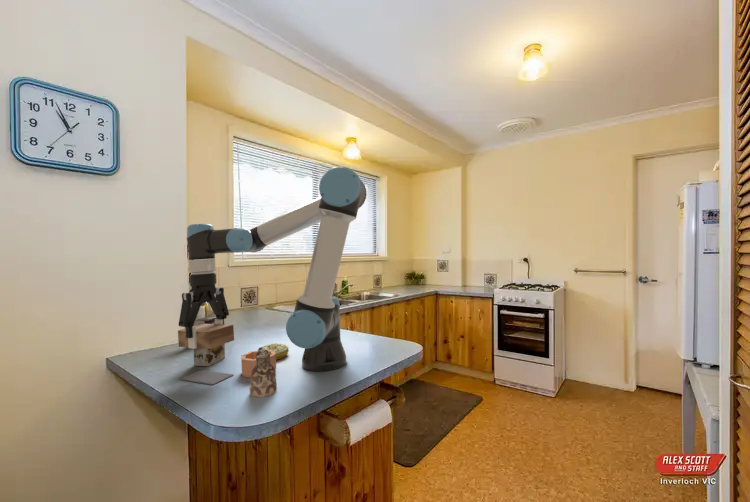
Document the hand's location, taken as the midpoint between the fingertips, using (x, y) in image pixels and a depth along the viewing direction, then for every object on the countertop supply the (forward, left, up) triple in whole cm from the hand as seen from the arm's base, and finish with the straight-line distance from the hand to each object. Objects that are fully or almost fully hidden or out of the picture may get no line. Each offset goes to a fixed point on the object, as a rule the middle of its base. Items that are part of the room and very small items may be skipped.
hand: (206, 343), depth 105 cm
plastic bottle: (+36, -27, -11) cm, 47 cm away
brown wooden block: (0, 0, 0) cm, 0 cm away
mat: (0, 0, -11) cm, 11 cm away
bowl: (-13, -9, -11) cm, 19 cm away
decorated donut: (-7, -23, -11) cm, 26 cm away
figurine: (-25, +3, -11) cm, 27 cm away
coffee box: (+12, -12, -11) cm, 21 cm away
